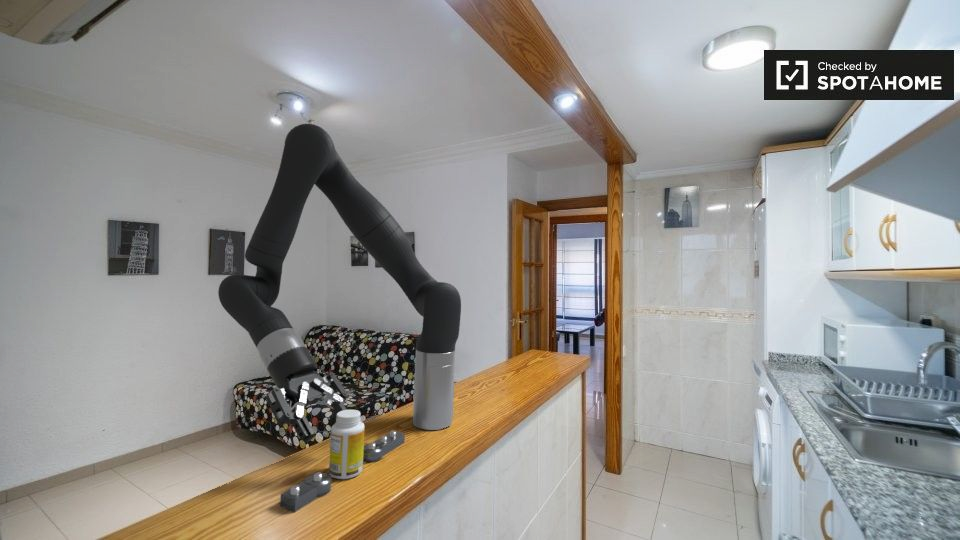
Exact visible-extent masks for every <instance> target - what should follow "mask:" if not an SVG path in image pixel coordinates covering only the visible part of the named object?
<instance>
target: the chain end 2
mask: <svg viewBox="0 0 960 540" xmlns="http://www.w3.org/2000/svg"><path fill="white" fill-rule="evenodd" d="M405 436H406V433H403V432H399V431H397V430H390V432H388V433H386V434H385V435H381V436H380V438H377V439H375V440H374V441H371V442H369V443H366V444H364V451H363V463H376V462H379V461H381V460H382V459H383V458H384V456H386V455H387V454H388V453H390V452H392V451H393V450H394V449H397V448H398V447H399V446H401V445H403V444H405V442H406V441H405V439H406V438H405Z"/></svg>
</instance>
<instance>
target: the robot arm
mask: <svg viewBox="0 0 960 540" xmlns="http://www.w3.org/2000/svg"><path fill="white" fill-rule="evenodd" d="M280 160H281V161H280V164H279V169H278V172H277V176H276V178H275V182H274V185H273V187H272V190H271V192H270V193H271V194H270V195H269V198H268V200H267V202H266V205H265V207H264V209H263V211H262V213H261V215H260V218H259V220H258V222H257V225H256V226H255V228H254V231H253V233H252V235H251V237H250V240H249V243H248V244H247V247H246V250H245V252H244V258H245V261H247V262H248V263H250V264H251V265H253V266H255V267H256V272H255V275H248V274H241V273H239V274H237V273H236V274H235V273H234V274H231V275H228V276H226V277H224V278H223V279H222V281H221V282H220V283H219V286H218V291H217V293H218V299H219V302H220V304H221V306H222V308H223V309H224V311H226V312H227V313H228V315H230V317H231V318H232V319H233V320H234V321H236V323H237V324H238V325H239V326H241V327H242V329H244V330H246V332H247V333H248V335H249V337H250V339H251V340H252V342H253V344H254V345H255V347H256V349H257V352H258V354H259V358H260V360H261V361H262V363H263V365H264V367H265V368H266V370H267V372H268V373H269V376H270V377H271V378H272V379H271V380H272V381H273V383H274V384H275V386H274V387H273V389H272V390H271V391H270V392H269V393H268V394H266V397H265V399H266V402H267V403H268V406H269V408H270V410H271V411H272V415H273V416H274V418H275V421H276V423H277V424H278V426H281V427H282V426H284V425H290V426H292V427H293V428H294V430H295V433H296V434H297V436H298V437H299V439H300V440H301V441H303V442H304V443H305V444H307V443H309V442H310V441H311V440H312V439H314V437H315V436H316V434H315V431H314V430H313V427H312V426H311V424H310V423H309V421H308V418H307V417H306V416H304V411H305V408H306V407H308V406H309V405H315V404H318V405H320V406H323V405H324V406H326V407H328V408H330V409H332V410H331V411H332V413H333V415H334V417H336V416H337V413H338V412H340V411H343V410H348V409H347V407H346V406H345V404H344V400H346V399H347V397H348V396H349V393H348V392H347V390H346V389H345V387H344V386H343V385H342V383H341V381H340V380H339V379H338V377H337V376H336V375H335V373H334V372H332V371H330V372H329V373H328V374H327V375H325V376H323V377H322V375H320V374H319V373H318V365H317V362H316V361H315V360H314V358H313V355H312V354H311V353H310V351H309V350H308V348H307V345H306V344H305V343H304V340H302V338H301V336H300V335H299V334H298V333H297V332H296V330H295V329H294V327H293V326H292V324H291V322H290V321H289V319H288V318H287V316H286V314H285V313H284V312H283V311H282V310H281V309H279V308H277V307H273V304H275V302H276V301H277V299H278V297H279V294H280V290H281V281H282V274H283V267H284V265H283V263H284V261H285V259H286V257H287V255H288V252H289V250H290V248H291V245H292V243H293V241H294V238H295V235H296V232H297V229H298V226H299V224H300V219H301V216H302V214H303V210H304V207H305V204H306V203H307V199H308V198H309V195H310V194H311V191H312V190H313V188H314V186H315V187H316V188H317V189H319V190H320V191H321V192H322V193H323V194H324V196H325V197H326V198H327V199H328V200H329V201H330V203H331V204H332V206H333V207H334V208H335V210H336V212H337V213H338V215H339V217H340V218H341V220H342V221H343V222H344V224H345V226H346V227H347V228H348V229H349V231H350V232H351V234H352V235H353V236H354V237H355V239H356V240H357V241H358V242H359V244H360V245H361V246H362V247H363V248H364V249H365V251H366V252H367V253H368V254H369V255H370V256H371V257H372V258H373V259H374V260H375V261H376V262H377V264H379V266H380V267H381V268H383V270H384V271H385V272H386V273H387V274H388V275H390V277H391V278H392V279H393V280H394V281H395V282H396V283H397V284H398V286H399V287H400V288H401V290H402V292H403V294H404V295H405V296H406V297H407V299H408V301H409V302H410V303H411V305H412V306H413V307H414V309H415V310H416V311H417V313H418V314H419V316H421V317H422V330H421V333H420V335H418V336H417V338H416V341H415V358H414V359H415V361H414V362H415V363H414V364H415V365H414V366H415V367H414V384H413V385H414V389H413V405H412V406H413V407H412V408H413V409H412V410H413V411H412V425H413V426H414V427H416V428H417V429H421V430H426V431H437V430H438V431H439V430H443V428H444V429H446V427H447V428H448V426H449V427H451V425H452V424H453V422H452V421H453V419H454V418H453V417H454V399H455V398H454V397H455V362H456V361H455V358H456V357H455V355H456V354H455V353H456V343H457V342H458V339H459V336H460V335H459V334H460V325H461V313H462V298H461V295H460V291H458V289H457V287H455V286H454V285H452V284H451V283H448V282H442V281H440V282H439V281H437V280H436V279H435V278H434V277H433V276H432V275H431V274H430V273H429V272H428V271H427V270H426V269H425V267H423V266H422V263H420V262H419V259H418V258H417V256H416V253H415V252H414V248H413V247H412V244H411V242H410V240H409V238H408V236H407V234H406V233H405V231H404V229H403V228H402V226H401V225H400V223H399V222H397V220H396V219H395V217H394V216H393V215H392V214H391V213H390V211H389V210H388V209H387V208H386V207H385V206H384V205H383V203H381V202H380V201H379V200H378V199H377V198H376V197H375V196H374V195H373V194H372V193H371V192H370V191H369V190H368V189H367V188H365V186H363V185H362V183H360V182H359V181H358V179H356V177H355V176H354V175H353V174H352V172H351V171H350V169H349V168H348V167H347V165H346V164H345V163H344V161H343V159H342V158H341V157H340V154H338V151H337V149H336V148H335V143H334V140H332V137H331V136H330V134H329V133H328V131H326V130H324V128H322V127H320V126H319V125H316V124H313V123H302V124H299V125H295V126H294V127H293V128H291V129H290V130H289V131H288V132H287V135H286V136H285V139H284V146H283V150H282V155H281V159H280ZM338 392H339V393H338ZM324 393H325V395H324ZM286 399H287V400H286ZM287 401H290V402H289V404H288V402H287ZM452 418H453V419H452ZM451 423H452V424H451Z"/></svg>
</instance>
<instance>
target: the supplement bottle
mask: <svg viewBox="0 0 960 540" xmlns="http://www.w3.org/2000/svg"><path fill="white" fill-rule="evenodd" d="M335 418H336V419H335V423H334V424H333V425H332V426H331V428H330V439H329V443H330V444H329V460H328V461H329V464H328V465H329V466H328V472H329V473H328V474H329V475H331V478H334V479H337V480H349V479H353V478H354V477H355V478H356V476H359V474H361V472H362V471H363V467H364V462H363V451H364V445H365V427H366V426H365V423H364V422H363V421H361V411H359V410H358V409H357V410H356V409H347V410H343V411H340V412H338V413H337V416H335Z"/></svg>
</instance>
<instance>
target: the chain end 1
mask: <svg viewBox="0 0 960 540" xmlns="http://www.w3.org/2000/svg"><path fill="white" fill-rule="evenodd" d="M331 491H332V476H331V475H330V473H326V472H319V471H318V472H315V473H312V474H310V475H307V477H305V479H304V481H302V482H299V483H297V484H295V485H292V486H290V488H289V489H287V490H286V491H283V492H282V493H280V498H279V499H280V502H279V503H280V504H279V507H280V508H283V509H285V510H287V511H291V512H293V513H296V512H298V511H299V510H301V509H302V508H303V507H306V506H307V505H309V504H310V503H311V502H313V501H315V500H316V499H319V498H321V497H324V496H327V495H328V494H329V493H330V492H331Z"/></svg>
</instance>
